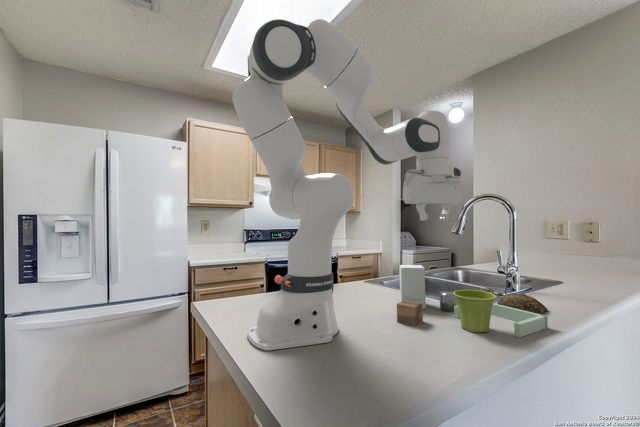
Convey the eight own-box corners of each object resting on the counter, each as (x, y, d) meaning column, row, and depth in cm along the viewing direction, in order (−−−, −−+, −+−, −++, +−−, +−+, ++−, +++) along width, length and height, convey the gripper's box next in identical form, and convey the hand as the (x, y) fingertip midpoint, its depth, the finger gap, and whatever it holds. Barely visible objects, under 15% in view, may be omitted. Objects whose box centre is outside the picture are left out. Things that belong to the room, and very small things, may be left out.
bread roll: (492, 309, 90) (492, 293, 91) (501, 301, 100) (501, 286, 100) (544, 318, 82) (544, 300, 82) (549, 308, 91) (549, 292, 91)
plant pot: (496, 338, 67) (495, 300, 68) (451, 331, 72) (450, 295, 73) (497, 326, 75) (496, 292, 76) (457, 320, 80) (456, 288, 81)
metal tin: (450, 313, 87) (450, 296, 87) (436, 309, 91) (436, 292, 91) (461, 310, 89) (461, 294, 89) (447, 306, 93) (447, 290, 94)
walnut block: (414, 326, 76) (414, 307, 76) (397, 322, 80) (396, 303, 80) (422, 321, 80) (422, 303, 80) (405, 317, 83) (405, 299, 84)
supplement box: (426, 309, 91) (425, 268, 91) (401, 308, 92) (400, 267, 93) (422, 302, 98) (421, 264, 98) (399, 302, 100) (398, 264, 100)
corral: (520, 337, 68) (519, 324, 68) (454, 316, 83) (453, 306, 83) (547, 328, 74) (547, 316, 74) (481, 310, 89) (481, 300, 89)
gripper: (414, 166, 75) (415, 220, 75) (466, 171, 85) (468, 219, 84) (396, 170, 81) (398, 220, 81) (448, 175, 90) (449, 220, 90)
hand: (434, 220), depth 83 cm, fingers open, 6 cm apart
